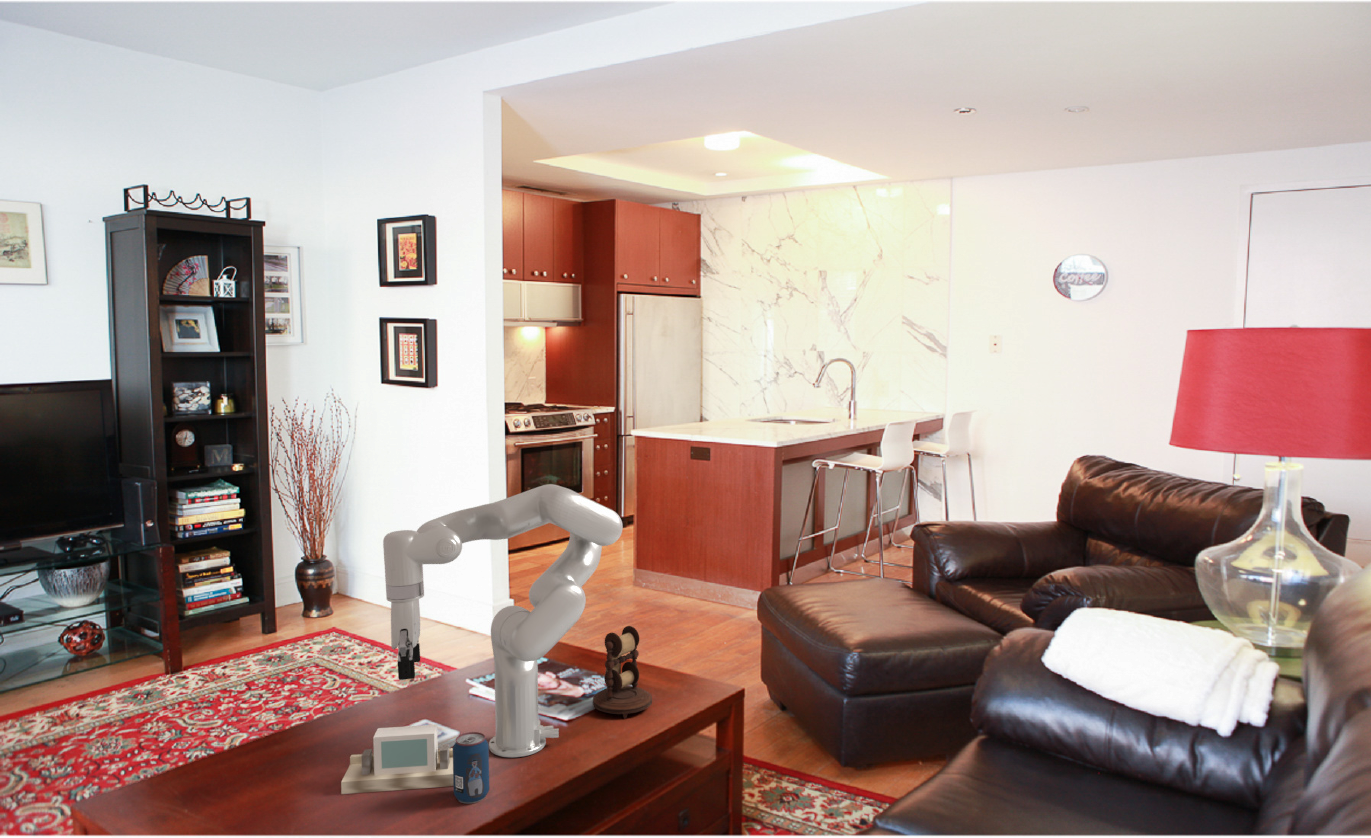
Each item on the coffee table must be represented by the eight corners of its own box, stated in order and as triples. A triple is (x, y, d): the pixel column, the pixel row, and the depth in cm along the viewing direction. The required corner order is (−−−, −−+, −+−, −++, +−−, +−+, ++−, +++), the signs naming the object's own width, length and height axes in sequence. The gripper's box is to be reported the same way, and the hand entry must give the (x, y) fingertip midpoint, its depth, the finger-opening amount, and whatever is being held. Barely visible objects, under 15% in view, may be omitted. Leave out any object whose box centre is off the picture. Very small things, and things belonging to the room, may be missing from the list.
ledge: (468, 765, 188) (467, 735, 188) (464, 785, 179) (463, 754, 179) (351, 773, 185) (350, 743, 184) (341, 794, 176) (340, 762, 175)
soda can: (471, 785, 179) (470, 728, 179) (496, 793, 176) (495, 735, 175) (446, 799, 173) (444, 740, 173) (472, 808, 170) (470, 748, 169)
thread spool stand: (619, 692, 229) (618, 617, 228) (663, 705, 221) (663, 627, 219) (580, 710, 217) (579, 631, 216) (626, 725, 209) (625, 642, 207)
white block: (438, 761, 184) (437, 724, 184) (435, 771, 180) (434, 733, 179) (378, 765, 183) (377, 728, 182) (374, 775, 178) (373, 737, 178)
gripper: (392, 581, 190) (396, 657, 192) (379, 603, 173) (385, 687, 175) (428, 578, 192) (432, 654, 193) (419, 600, 175) (424, 683, 176)
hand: (409, 670), depth 184 cm, fingers open, 9 cm apart
